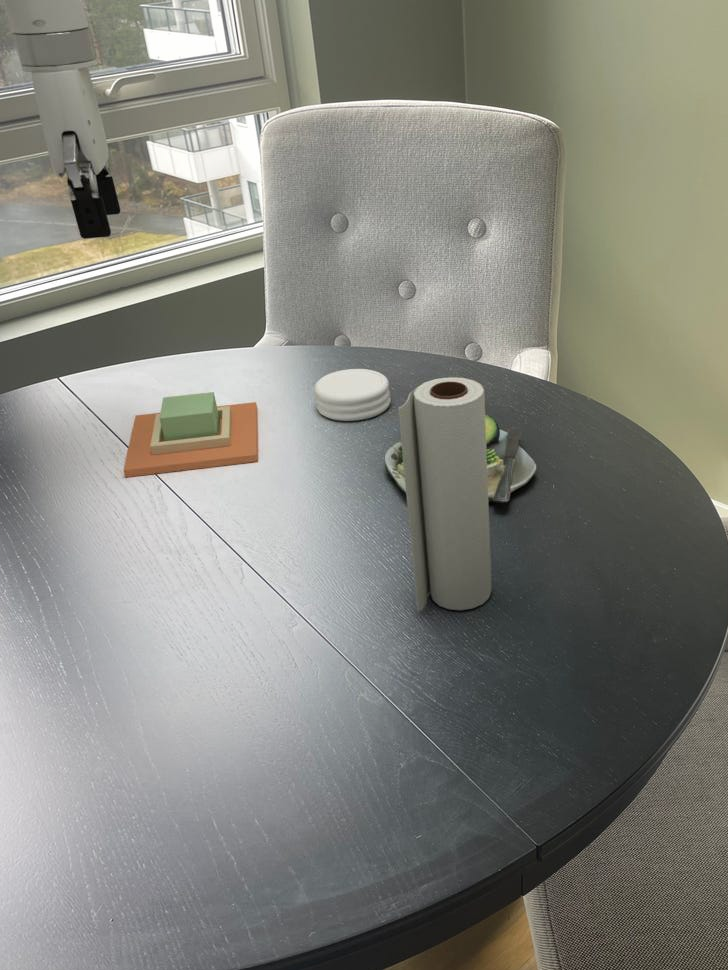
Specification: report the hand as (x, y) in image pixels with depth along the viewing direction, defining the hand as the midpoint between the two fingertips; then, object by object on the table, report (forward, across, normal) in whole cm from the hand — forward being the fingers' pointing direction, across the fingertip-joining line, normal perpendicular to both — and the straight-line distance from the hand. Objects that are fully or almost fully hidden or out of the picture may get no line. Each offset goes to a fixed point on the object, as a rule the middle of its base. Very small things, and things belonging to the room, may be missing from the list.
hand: (102, 225), depth 110 cm
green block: (+25, +3, +5) cm, 26 cm away
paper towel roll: (+26, +45, +32) cm, 61 cm away
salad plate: (+26, +20, +37) cm, 50 cm away
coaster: (+26, -2, +26) cm, 37 cm away
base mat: (+26, +3, +5) cm, 27 cm away
